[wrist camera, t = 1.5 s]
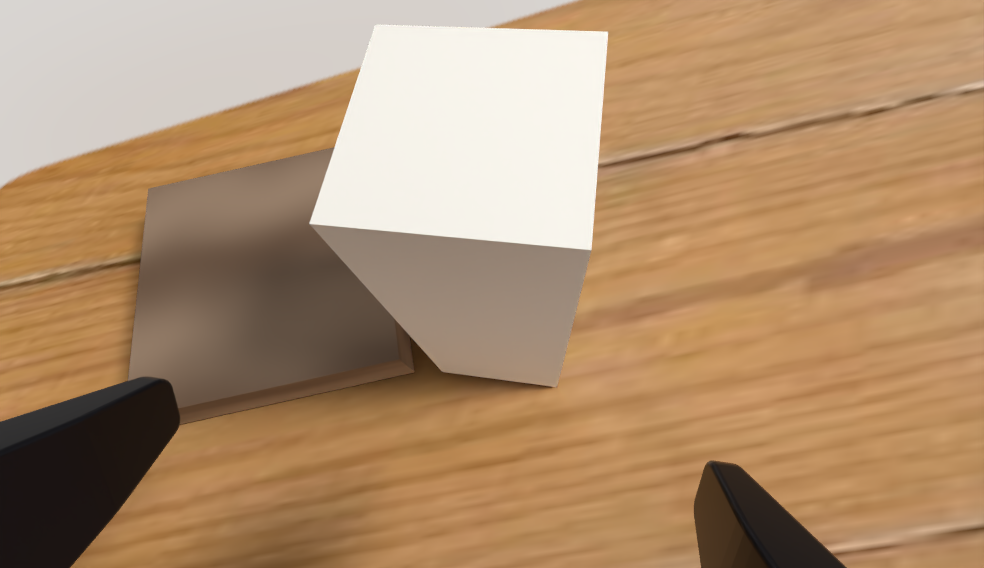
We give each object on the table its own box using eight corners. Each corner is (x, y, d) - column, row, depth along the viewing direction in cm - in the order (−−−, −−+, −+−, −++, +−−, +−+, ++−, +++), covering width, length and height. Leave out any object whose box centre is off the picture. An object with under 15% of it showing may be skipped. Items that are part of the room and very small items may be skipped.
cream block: (557, 387, 20) (591, 250, 8) (442, 371, 20) (309, 223, 8) (567, 279, 21) (608, 32, 10) (461, 268, 22) (375, 24, 10)
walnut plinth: (414, 372, 20) (399, 359, 18) (170, 426, 20) (123, 420, 18) (386, 170, 25) (371, 139, 22) (184, 215, 25) (148, 188, 22)
